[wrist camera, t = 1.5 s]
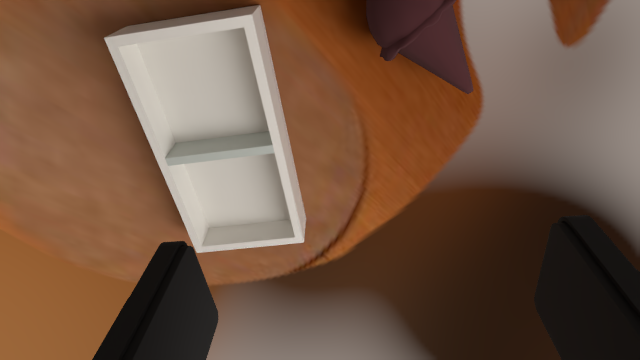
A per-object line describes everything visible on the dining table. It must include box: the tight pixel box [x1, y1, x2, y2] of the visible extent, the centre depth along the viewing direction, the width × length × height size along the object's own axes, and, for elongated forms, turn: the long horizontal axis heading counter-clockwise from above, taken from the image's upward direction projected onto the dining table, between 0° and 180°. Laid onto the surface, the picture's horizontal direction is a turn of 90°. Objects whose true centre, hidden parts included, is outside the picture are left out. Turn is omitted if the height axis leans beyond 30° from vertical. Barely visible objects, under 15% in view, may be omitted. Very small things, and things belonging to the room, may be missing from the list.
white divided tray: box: [104, 5, 306, 253], centre depth 37 cm, size 22×12×4 cm, turn 8°
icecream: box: [366, 0, 473, 94], centre depth 30 cm, size 7×7×15 cm
